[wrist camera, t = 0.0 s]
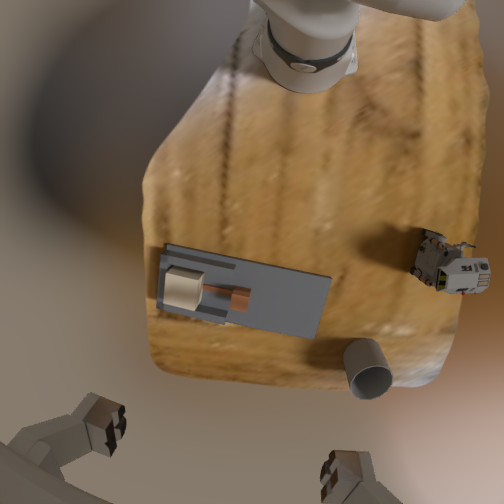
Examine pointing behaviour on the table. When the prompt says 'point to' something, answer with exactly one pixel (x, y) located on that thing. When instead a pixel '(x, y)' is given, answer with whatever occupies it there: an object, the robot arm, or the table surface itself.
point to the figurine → (449, 266)
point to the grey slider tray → (262, 292)
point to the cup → (367, 369)
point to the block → (198, 290)
